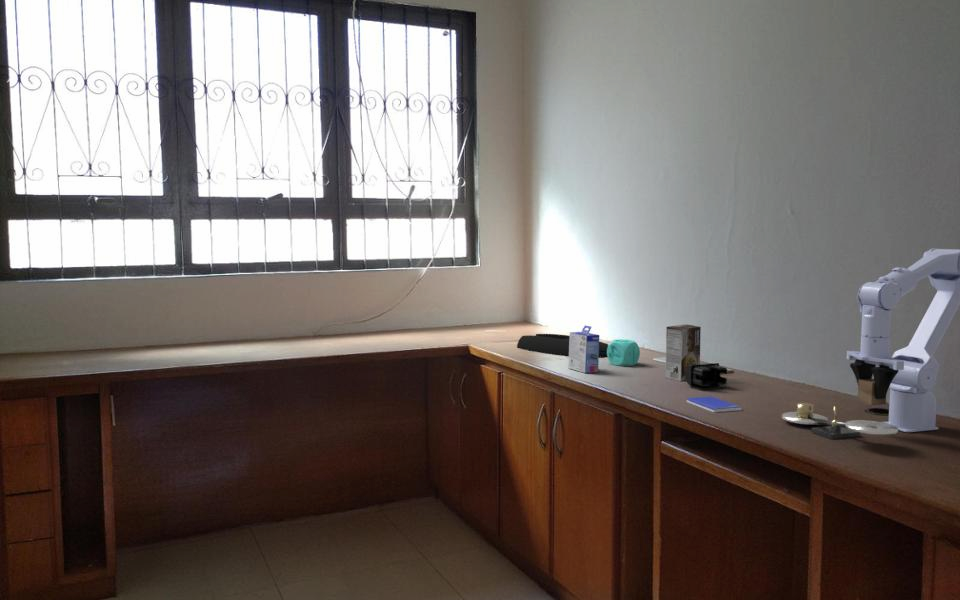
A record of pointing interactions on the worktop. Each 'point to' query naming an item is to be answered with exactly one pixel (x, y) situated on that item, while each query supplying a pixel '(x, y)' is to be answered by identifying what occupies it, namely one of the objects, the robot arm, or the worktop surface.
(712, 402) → the hard drive
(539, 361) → the worktop surface
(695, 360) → the coffee box
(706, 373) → the black electrical connector
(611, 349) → the decorative dice
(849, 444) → the worktop surface
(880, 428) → the balance
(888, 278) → the robot arm
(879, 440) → the worktop surface
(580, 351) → the ink cartridge box
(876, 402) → the walnut block
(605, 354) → the docking station
